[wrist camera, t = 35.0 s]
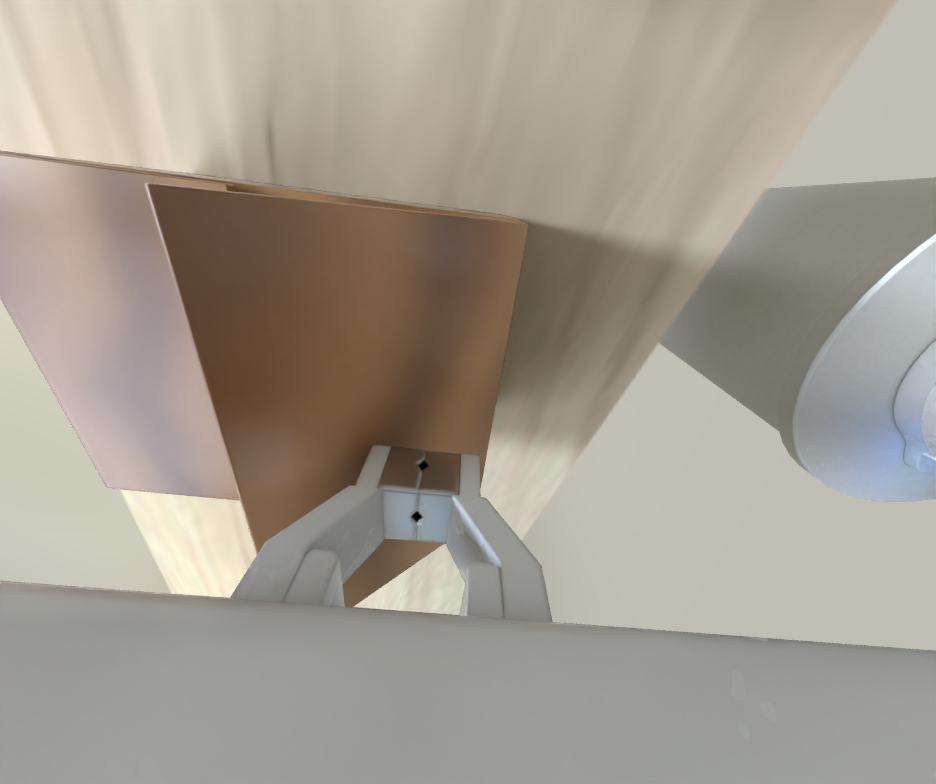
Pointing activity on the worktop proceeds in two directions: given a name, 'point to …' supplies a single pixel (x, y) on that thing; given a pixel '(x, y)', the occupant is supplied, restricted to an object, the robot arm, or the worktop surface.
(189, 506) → the worktop surface
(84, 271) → the carton
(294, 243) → the carton flap
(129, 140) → the worktop surface
